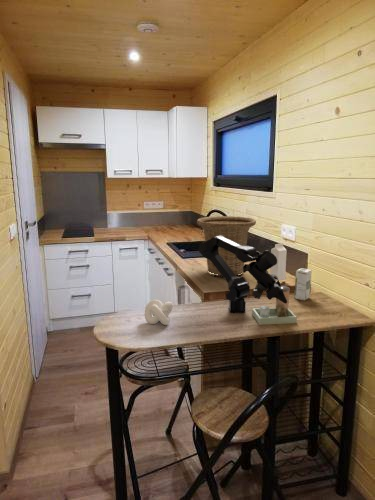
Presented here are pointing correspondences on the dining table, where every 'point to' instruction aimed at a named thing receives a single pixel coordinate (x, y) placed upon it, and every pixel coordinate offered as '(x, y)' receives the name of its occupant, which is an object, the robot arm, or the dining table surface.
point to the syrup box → (302, 284)
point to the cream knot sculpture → (158, 312)
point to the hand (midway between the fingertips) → (285, 300)
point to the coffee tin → (283, 304)
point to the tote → (273, 317)
